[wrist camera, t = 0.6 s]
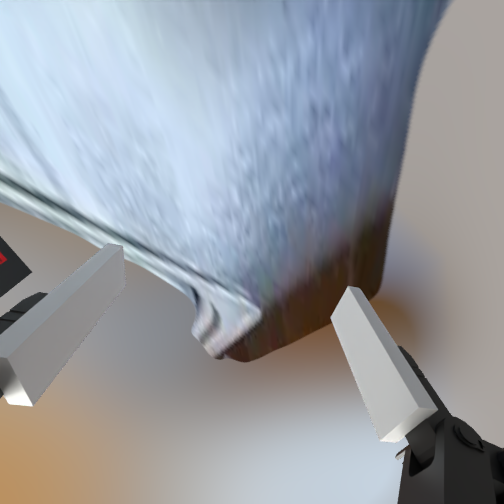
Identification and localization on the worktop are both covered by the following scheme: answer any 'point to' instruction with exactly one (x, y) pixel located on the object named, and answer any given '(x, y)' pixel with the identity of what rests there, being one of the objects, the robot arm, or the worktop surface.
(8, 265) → the cleaning product box
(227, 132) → the worktop surface
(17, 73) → the worktop surface
